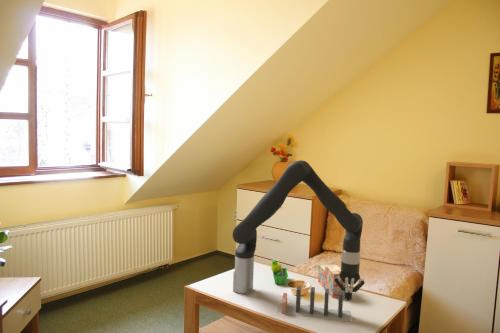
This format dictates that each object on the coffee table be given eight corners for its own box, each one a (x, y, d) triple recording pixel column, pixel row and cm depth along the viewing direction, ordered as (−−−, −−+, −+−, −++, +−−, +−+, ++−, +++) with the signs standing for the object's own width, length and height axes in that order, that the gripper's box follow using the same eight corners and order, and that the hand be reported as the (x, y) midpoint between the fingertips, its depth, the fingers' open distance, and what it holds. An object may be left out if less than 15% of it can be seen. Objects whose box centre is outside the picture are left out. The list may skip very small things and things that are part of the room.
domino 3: (309, 313, 168) (310, 291, 167) (310, 308, 173) (311, 286, 172) (313, 314, 167) (314, 291, 167) (313, 309, 172) (314, 287, 171)
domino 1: (282, 302, 167) (283, 292, 177) (281, 313, 167) (283, 303, 177) (285, 302, 167) (287, 293, 177) (285, 313, 167) (286, 303, 177)
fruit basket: (287, 285, 199) (288, 264, 198) (270, 285, 200) (271, 263, 199) (286, 277, 211) (286, 257, 210) (269, 276, 211) (270, 256, 210)
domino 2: (295, 312, 169) (296, 289, 168) (296, 307, 174) (297, 285, 173) (299, 312, 169) (300, 290, 168) (300, 307, 173) (301, 285, 173)
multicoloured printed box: (317, 281, 206) (318, 258, 205) (329, 281, 207) (330, 258, 206) (332, 298, 185) (333, 273, 184) (345, 298, 186) (346, 273, 185)
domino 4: (323, 315, 166) (324, 292, 166) (324, 310, 171) (325, 288, 171) (327, 316, 166) (328, 293, 165) (327, 311, 171) (328, 288, 170)
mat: (277, 313, 168) (277, 312, 168) (280, 303, 178) (280, 302, 178) (351, 322, 162) (351, 321, 162) (350, 311, 171) (350, 311, 171)
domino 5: (338, 317, 165) (338, 294, 164) (338, 312, 170) (338, 289, 169) (342, 317, 165) (342, 294, 164) (341, 312, 170) (342, 290, 169)
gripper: (334, 261, 163) (332, 302, 164) (367, 265, 160) (364, 306, 162) (334, 256, 170) (332, 294, 172) (366, 259, 167) (363, 298, 169)
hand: (348, 300), depth 167 cm, fingers closed
